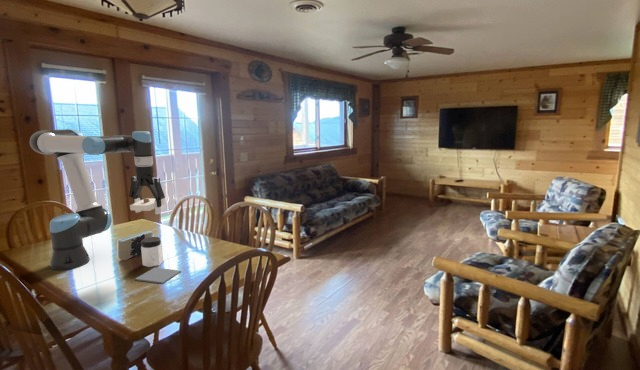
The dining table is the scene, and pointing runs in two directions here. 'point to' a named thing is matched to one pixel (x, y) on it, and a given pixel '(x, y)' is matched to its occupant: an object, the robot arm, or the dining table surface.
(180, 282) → the dining table surface
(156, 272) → the mat
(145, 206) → the lid
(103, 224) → the robot arm
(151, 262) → the jar
